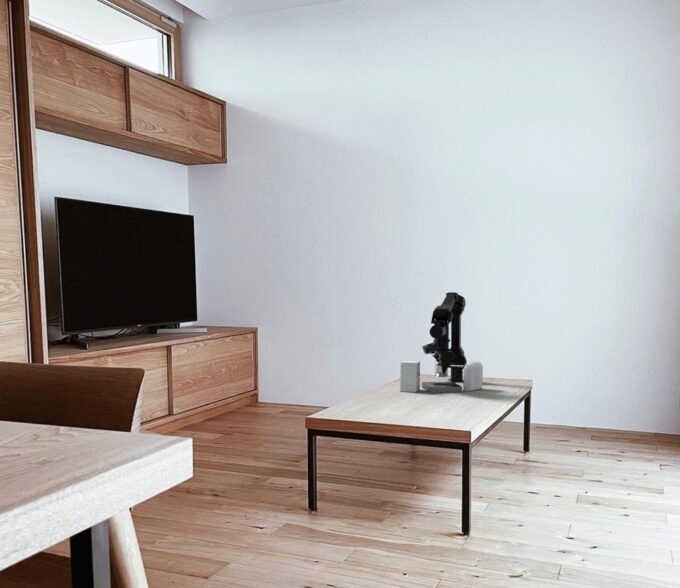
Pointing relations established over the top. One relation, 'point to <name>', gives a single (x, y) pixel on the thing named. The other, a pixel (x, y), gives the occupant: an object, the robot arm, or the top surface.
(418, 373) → the supplement box
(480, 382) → the photo printer
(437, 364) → the lens
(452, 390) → the mount plate
